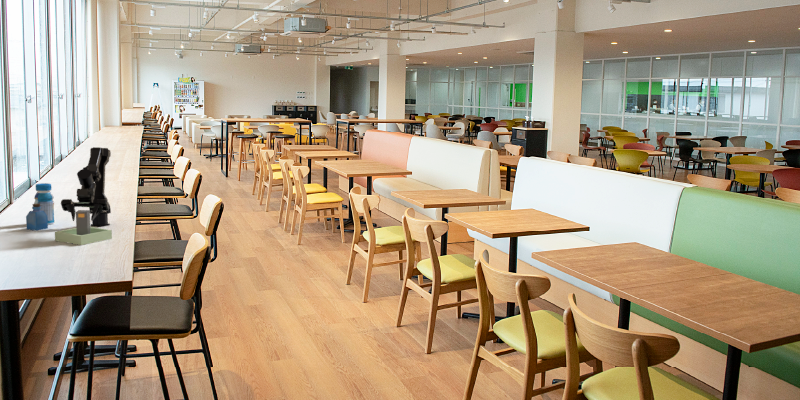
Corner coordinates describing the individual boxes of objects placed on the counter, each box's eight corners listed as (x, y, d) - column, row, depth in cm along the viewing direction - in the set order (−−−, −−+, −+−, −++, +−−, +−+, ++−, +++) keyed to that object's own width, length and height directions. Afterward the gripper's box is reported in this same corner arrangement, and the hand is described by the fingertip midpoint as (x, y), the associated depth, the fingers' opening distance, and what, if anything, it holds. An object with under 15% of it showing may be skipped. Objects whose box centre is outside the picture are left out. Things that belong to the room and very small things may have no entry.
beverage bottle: (45, 225, 294) (44, 185, 291) (31, 224, 296) (29, 184, 293) (58, 222, 302) (57, 183, 299) (44, 221, 304) (42, 182, 301)
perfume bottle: (47, 228, 289) (46, 203, 287) (36, 230, 283) (35, 205, 281) (38, 227, 291) (37, 202, 289) (26, 229, 285) (25, 204, 283)
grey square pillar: (79, 236, 270) (78, 210, 268) (90, 236, 271) (89, 210, 269) (76, 238, 265) (75, 212, 263) (87, 238, 266) (86, 212, 264)
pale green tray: (86, 234, 279) (86, 226, 278) (111, 238, 273) (111, 230, 272) (55, 240, 264) (54, 231, 263) (81, 245, 258) (80, 236, 257)
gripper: (61, 181, 266) (54, 209, 257) (106, 181, 271) (102, 209, 262) (66, 196, 275) (60, 224, 266) (110, 196, 279) (106, 224, 271)
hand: (82, 220), depth 266 cm, fingers open, 7 cm apart
